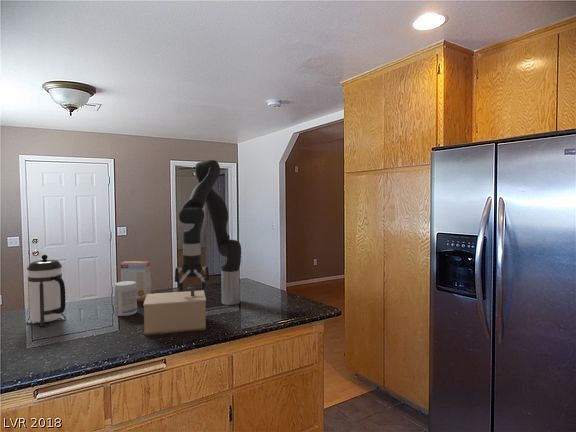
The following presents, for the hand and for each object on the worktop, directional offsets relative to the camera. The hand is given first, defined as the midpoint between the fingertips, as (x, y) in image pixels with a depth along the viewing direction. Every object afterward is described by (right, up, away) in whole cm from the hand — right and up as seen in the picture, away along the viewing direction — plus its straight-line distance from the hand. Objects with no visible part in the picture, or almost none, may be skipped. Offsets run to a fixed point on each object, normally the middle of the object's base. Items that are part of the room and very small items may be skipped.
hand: (192, 290), depth 160 cm
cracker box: (-40, -13, +38) cm, 57 cm away
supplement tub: (-35, -14, +16) cm, 41 cm away
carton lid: (-7, -3, -2) cm, 7 cm away
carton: (-7, -15, -1) cm, 16 cm away
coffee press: (-64, -15, +3) cm, 66 cm away
